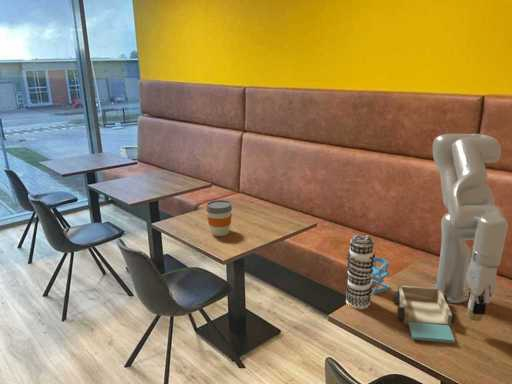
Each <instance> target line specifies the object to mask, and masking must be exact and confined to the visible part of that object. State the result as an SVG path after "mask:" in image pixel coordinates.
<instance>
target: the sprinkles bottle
mask: <svg viewBox="0 0 512 384" xmlns="http://www.w3.org/2000/svg"><path fill="white" fill-rule="evenodd" d="M470 292H471V294H470V298H469V303H468V302H467V310H466V312H465V316H466V317H467V318H468V319H469V320H471V321H474V322H479V321H482V319H483V315H481V314H473V307H474V302H476V297H477V296H475V295H474V294H473V292H472V291H470ZM483 293H484V292H483ZM480 299H484V297H483V296H480Z"/></svg>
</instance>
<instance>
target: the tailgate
mask: <svg viewBox="0 0 512 384" xmlns="http://www.w3.org/2000/svg"><path fill="white" fill-rule="evenodd" d="M406 323H407V324H409V325H408V327H409V331H410V335H411V339H412V340H414V341H415V340H418V341H425V342H426V341H429V342H438V343H451V344H455V341H456V340H455V337H454V334H453V333H452V330H451V326H450V324H445V323H432V322H420V321H408V320H407V321H406ZM407 324H406V325H407Z"/></svg>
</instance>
